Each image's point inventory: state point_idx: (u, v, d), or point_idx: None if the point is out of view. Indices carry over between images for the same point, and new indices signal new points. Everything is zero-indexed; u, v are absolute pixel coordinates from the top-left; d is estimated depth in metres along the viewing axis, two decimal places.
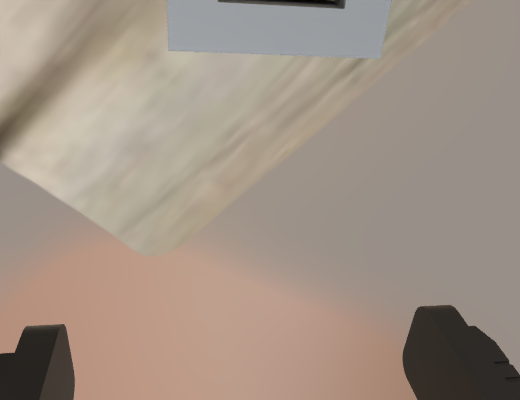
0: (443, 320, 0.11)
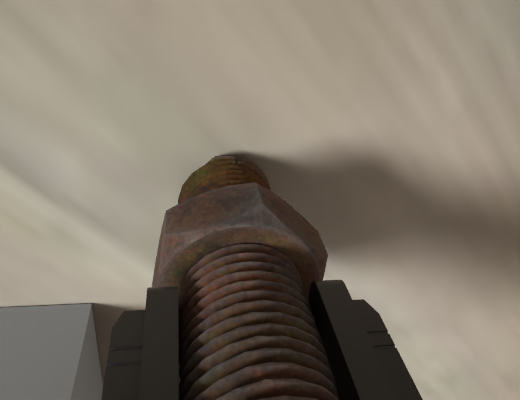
0: (328, 293, 0.11)
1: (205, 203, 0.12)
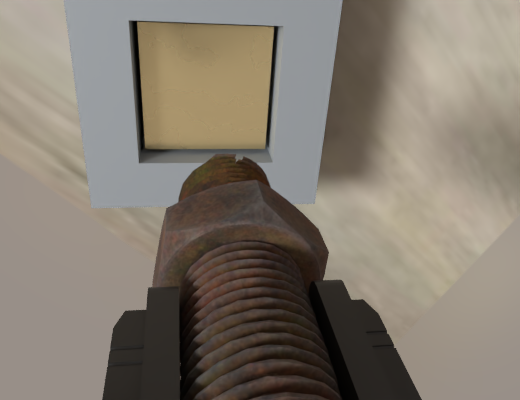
0: (328, 293, 0.11)
1: (206, 201, 0.12)
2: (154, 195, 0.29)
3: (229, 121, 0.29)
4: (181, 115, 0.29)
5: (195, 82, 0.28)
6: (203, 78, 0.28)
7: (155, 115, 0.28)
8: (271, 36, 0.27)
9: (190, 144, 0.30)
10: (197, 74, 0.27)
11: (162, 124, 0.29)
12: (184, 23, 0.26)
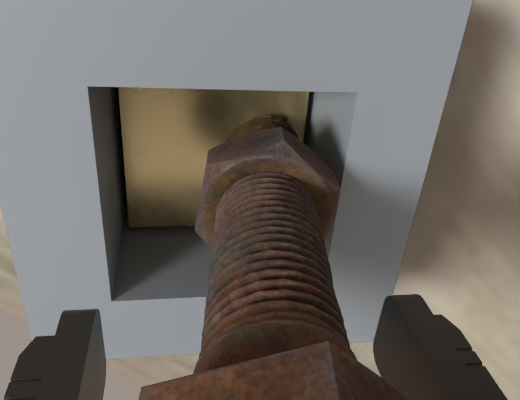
0: (408, 308, 0.11)
1: (239, 143, 0.15)
2: (137, 342, 0.19)
3: None
4: (179, 183, 0.20)
5: (199, 139, 0.20)
6: (210, 134, 0.20)
7: (143, 184, 0.20)
8: None
9: (191, 220, 0.22)
10: (202, 129, 0.19)
11: (153, 195, 0.21)
12: None
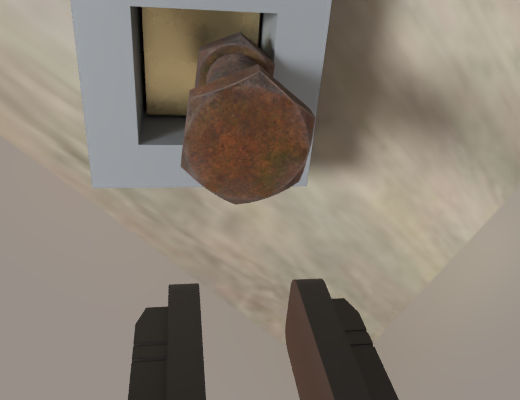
0: (308, 291, 0.11)
1: (217, 41, 0.27)
2: (153, 176, 0.31)
3: None
4: (179, 84, 0.33)
5: (191, 54, 0.32)
6: (198, 51, 0.32)
7: (156, 84, 0.32)
8: (258, 14, 0.31)
9: None
10: (193, 47, 0.31)
11: (162, 92, 0.33)
12: None
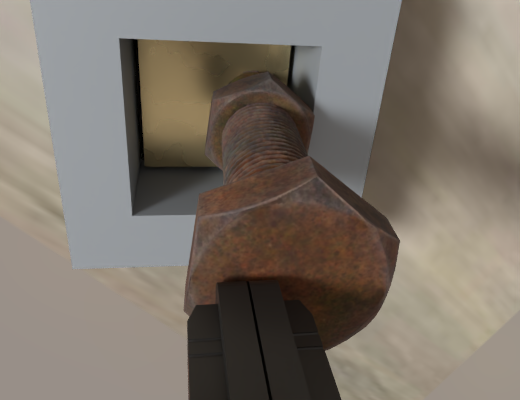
0: (260, 293, 0.11)
1: (237, 84, 0.20)
2: (151, 253, 0.24)
3: None
4: (185, 129, 0.25)
5: (202, 92, 0.24)
6: (210, 88, 0.24)
7: (156, 129, 0.25)
8: None
9: (195, 161, 0.26)
10: (204, 83, 0.24)
11: (164, 139, 0.25)
12: None
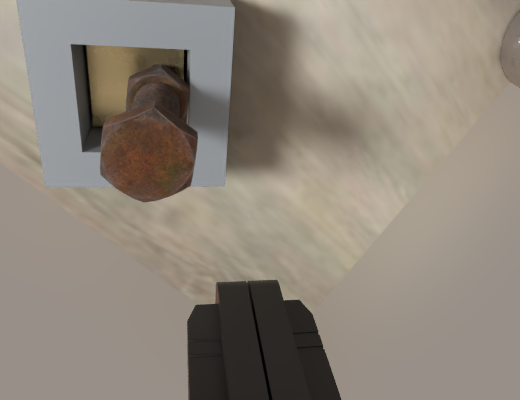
0: (260, 293, 0.11)
1: (143, 71, 0.34)
2: (95, 177, 0.38)
3: None
4: (119, 102, 0.39)
5: None
6: None
7: (100, 101, 0.39)
8: None
9: None
10: (130, 72, 0.38)
11: (105, 108, 0.40)
12: None
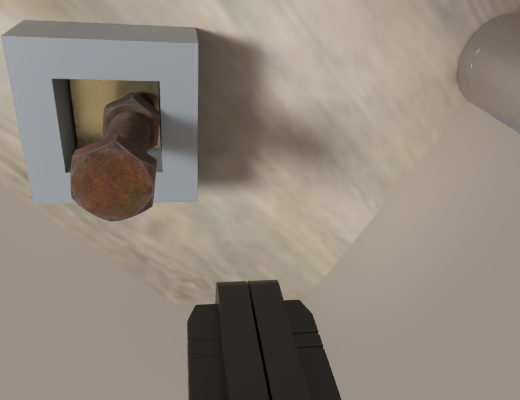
0: (260, 293, 0.11)
1: (117, 101, 0.38)
2: None
3: None
4: (101, 125, 0.43)
5: None
6: None
7: (83, 125, 0.43)
8: None
9: None
10: (109, 99, 0.42)
11: (88, 131, 0.43)
12: None
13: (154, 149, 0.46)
